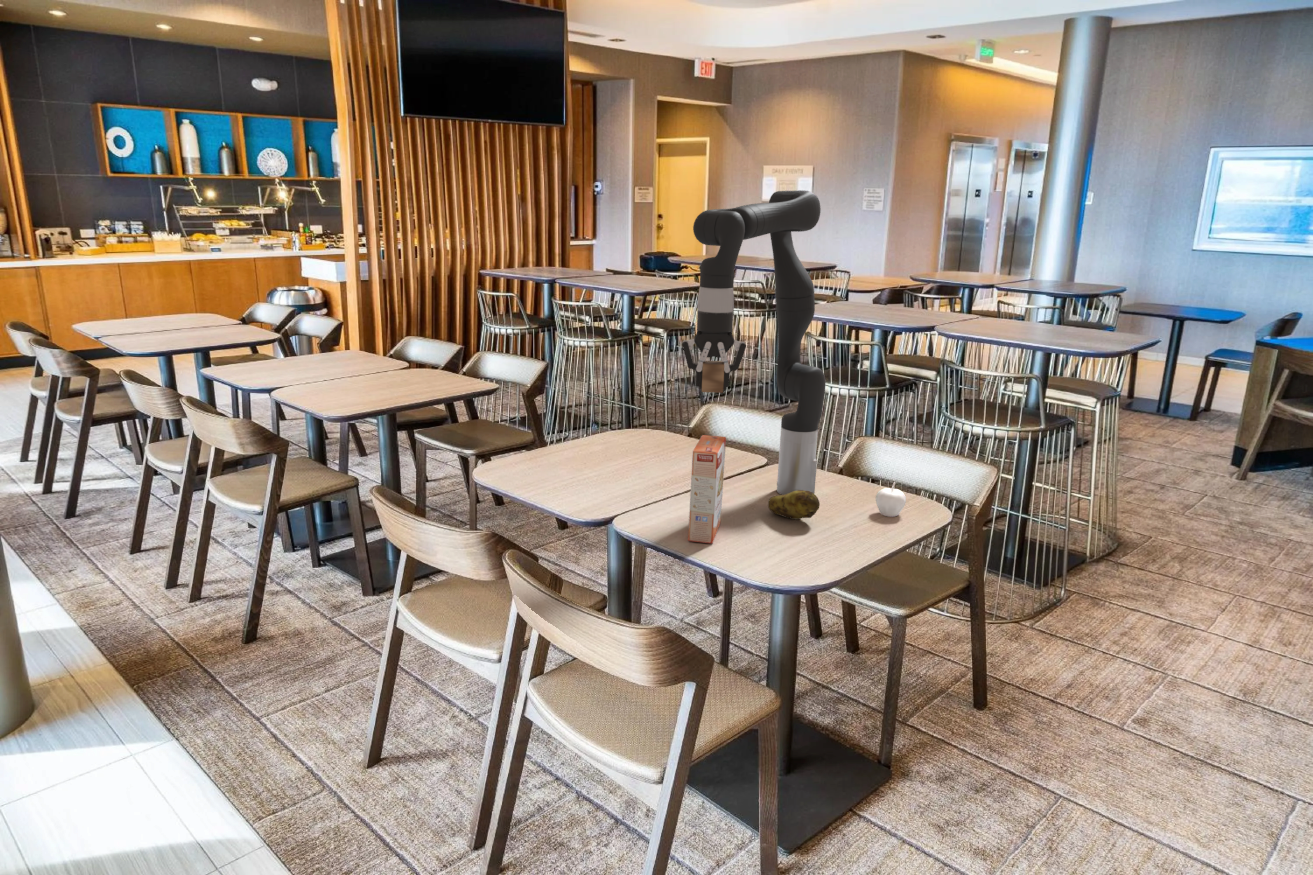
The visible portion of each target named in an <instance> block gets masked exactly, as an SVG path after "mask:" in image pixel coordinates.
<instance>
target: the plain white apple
mask: <svg viewBox="0 0 1313 875" xmlns="http://www.w3.org/2000/svg"><path fill="white" fill-rule="evenodd" d="M895 485H896V481H894V482H893V483H892V486H891V488H890V487H885V488H882V489H880V490H879V491H878V492H877V494H876V495H875V502H876V505H877V510H878V511H879V513H880V514H881V515H882V516H885V517H889V518H890V517H891V518H895V517H897V516H899V515H900V514H901V512H902V510H903V509H904V508H905V506H906V502H907V497H906V495H905V493H904V492H903V491H902V490H900V489H898V488H895Z"/></svg>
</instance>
